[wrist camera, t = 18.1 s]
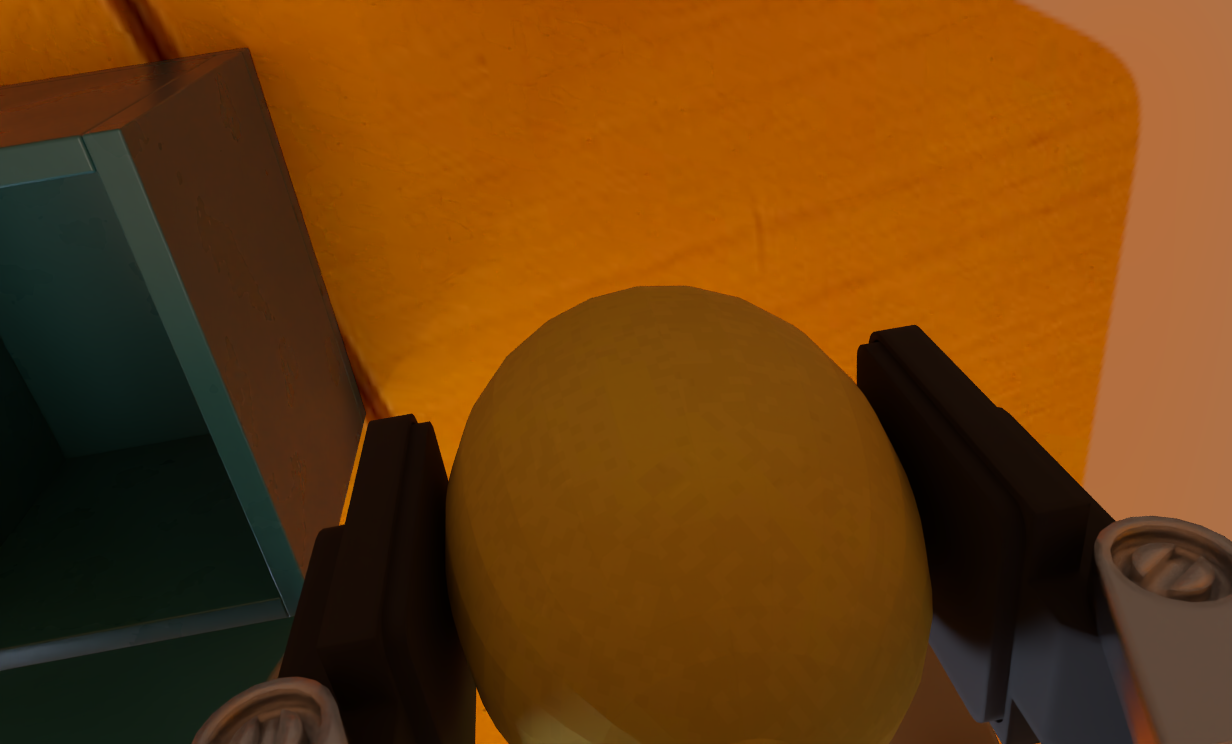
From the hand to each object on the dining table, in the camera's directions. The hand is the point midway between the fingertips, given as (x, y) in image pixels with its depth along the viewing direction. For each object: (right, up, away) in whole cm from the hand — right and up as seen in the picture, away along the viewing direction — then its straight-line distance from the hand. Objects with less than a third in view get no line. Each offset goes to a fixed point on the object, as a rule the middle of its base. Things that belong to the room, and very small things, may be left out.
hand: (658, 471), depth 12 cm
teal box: (-17, +5, +19) cm, 26 cm away
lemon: (0, +1, +3) cm, 3 cm away
